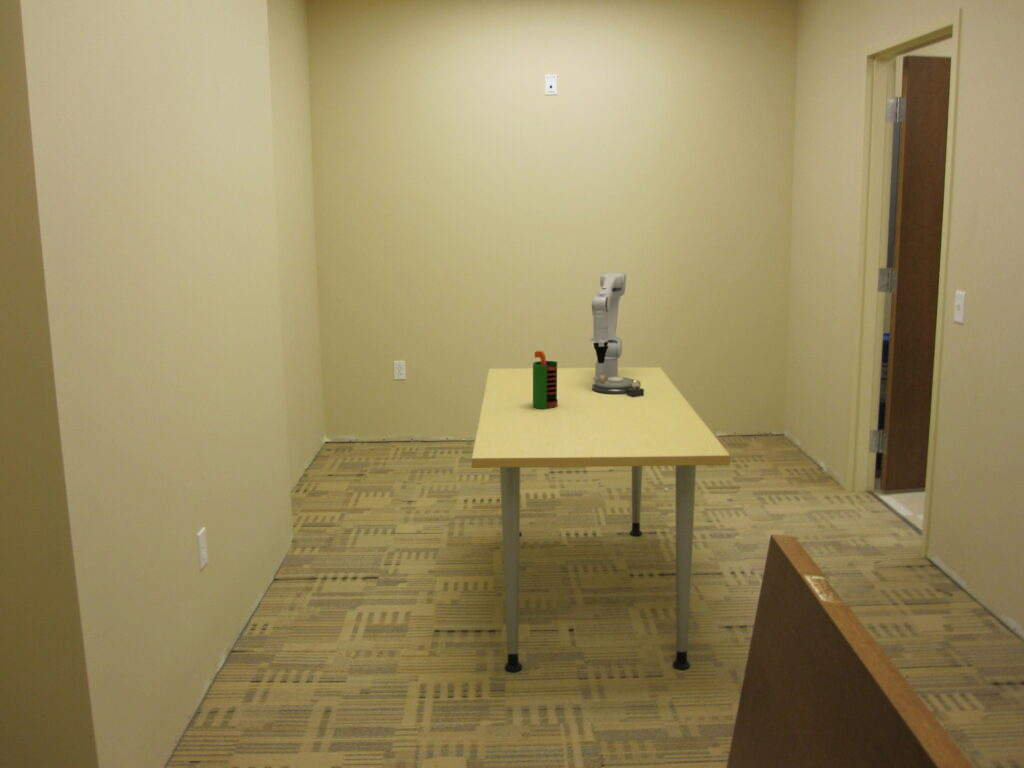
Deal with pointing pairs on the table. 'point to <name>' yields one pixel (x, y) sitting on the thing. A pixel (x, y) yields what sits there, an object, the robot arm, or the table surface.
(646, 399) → the table surface
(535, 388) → the motor
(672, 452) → the table surface
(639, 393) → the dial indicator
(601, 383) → the disc
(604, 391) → the plinth
